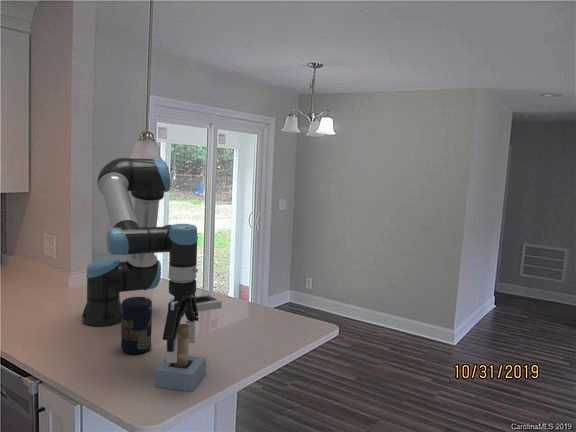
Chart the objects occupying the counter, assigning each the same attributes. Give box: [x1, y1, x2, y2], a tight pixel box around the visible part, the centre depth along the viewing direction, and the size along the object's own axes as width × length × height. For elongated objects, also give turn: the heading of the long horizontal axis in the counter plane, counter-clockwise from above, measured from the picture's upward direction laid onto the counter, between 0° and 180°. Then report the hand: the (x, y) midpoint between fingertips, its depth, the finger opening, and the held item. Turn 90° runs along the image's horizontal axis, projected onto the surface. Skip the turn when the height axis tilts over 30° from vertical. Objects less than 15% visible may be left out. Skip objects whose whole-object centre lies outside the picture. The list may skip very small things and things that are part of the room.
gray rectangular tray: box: [170, 294, 223, 312], centre depth 198 cm, size 17×5×16 cm
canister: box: [120, 296, 153, 354], centre depth 149 cm, size 10×10×18 cm
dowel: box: [174, 323, 189, 369], centre depth 130 cm, size 4×4×15 cm
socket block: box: [153, 355, 207, 393], centre depth 131 cm, size 11×11×5 cm
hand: (181, 351), depth 130 cm, fingers open, 13 cm apart
